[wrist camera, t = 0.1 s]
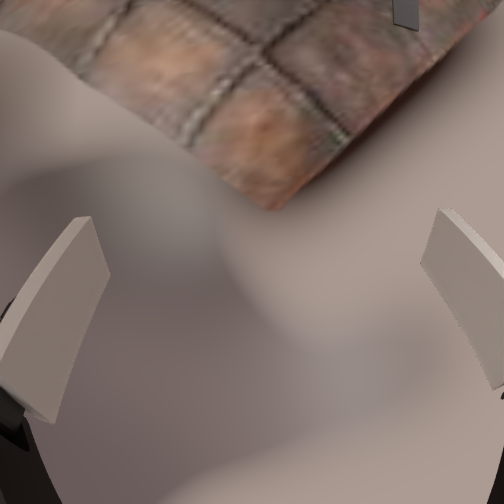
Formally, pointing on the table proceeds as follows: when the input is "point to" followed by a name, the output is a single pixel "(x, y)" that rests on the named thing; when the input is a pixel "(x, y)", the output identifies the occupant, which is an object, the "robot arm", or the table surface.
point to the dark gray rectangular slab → (406, 13)
